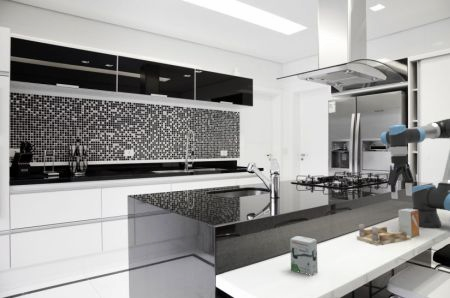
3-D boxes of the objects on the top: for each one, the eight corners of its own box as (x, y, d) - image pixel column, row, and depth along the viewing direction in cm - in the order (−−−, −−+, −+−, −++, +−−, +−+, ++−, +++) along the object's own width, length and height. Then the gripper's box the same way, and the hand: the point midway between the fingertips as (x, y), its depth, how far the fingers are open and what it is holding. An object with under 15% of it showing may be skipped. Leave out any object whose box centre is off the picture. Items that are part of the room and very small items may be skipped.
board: (389, 234, 161) (388, 219, 161) (411, 239, 150) (410, 224, 150) (356, 239, 153) (355, 224, 154) (376, 245, 142) (376, 229, 142)
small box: (412, 237, 153) (410, 211, 153) (398, 235, 158) (397, 209, 158) (419, 235, 157) (418, 209, 158) (406, 233, 163) (405, 208, 163)
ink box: (290, 270, 114) (289, 238, 114) (297, 266, 118) (296, 235, 118) (311, 276, 108) (310, 242, 108) (318, 272, 111) (317, 239, 112)
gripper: (404, 154, 167) (407, 193, 166) (377, 156, 154) (380, 199, 153) (419, 154, 160) (422, 194, 160) (392, 156, 147) (395, 200, 147)
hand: (402, 197), depth 156 cm, fingers open, 13 cm apart
